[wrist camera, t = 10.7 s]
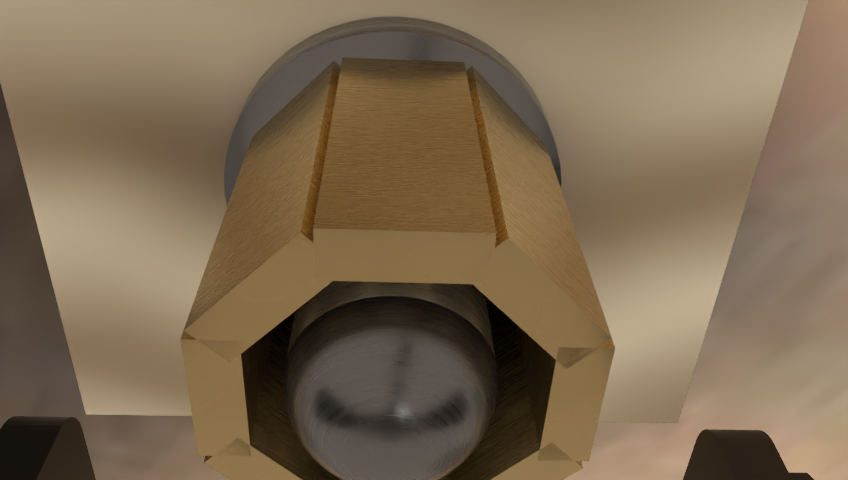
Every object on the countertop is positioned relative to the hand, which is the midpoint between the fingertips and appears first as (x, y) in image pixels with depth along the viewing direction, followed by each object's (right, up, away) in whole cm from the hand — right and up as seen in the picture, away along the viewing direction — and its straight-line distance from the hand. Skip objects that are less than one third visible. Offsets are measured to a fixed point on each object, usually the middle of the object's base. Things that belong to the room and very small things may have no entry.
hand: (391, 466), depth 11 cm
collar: (0, +4, +6) cm, 7 cm away
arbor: (0, +4, +7) cm, 8 cm away
